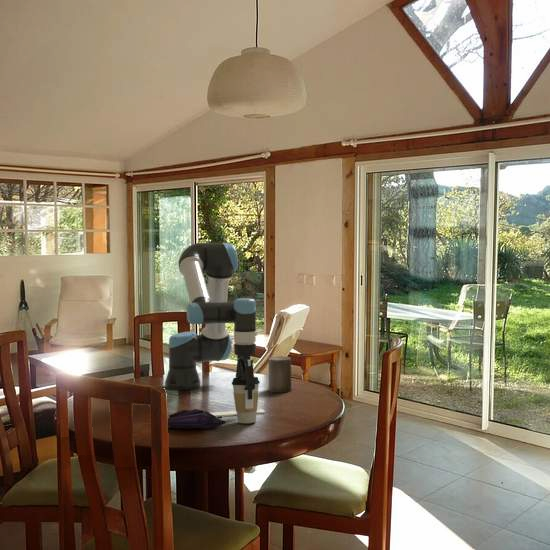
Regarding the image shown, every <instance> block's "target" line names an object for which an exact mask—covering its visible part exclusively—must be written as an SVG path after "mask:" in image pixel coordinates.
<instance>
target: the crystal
mask: <svg viewBox="0 0 550 550" xmlns="http://www.w3.org/2000/svg"><path fill="white" fill-rule="evenodd" d="M211 413H212V412H209V411H207V410H201V409H197V408H194V409H190V410H187V409H182V410H180V411H177V412H174V413H172V414H168V418H167V419H168V426H169V427H168V426H167V427H168V429H192V428H199V429H200V430H202V429H203V430H214V429H216V428H218V427H220V426H222V425H225V424H226V421H225V420H223V417H222V416H220V417H216V416H214V415H212V414H211Z"/></svg>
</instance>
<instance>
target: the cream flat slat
mask: <svg viewBox="0 0 550 550" xmlns="http://www.w3.org/2000/svg"><path fill="white" fill-rule="evenodd" d="M210 413H211V414H212V415H214V416H216V418H217V417H220V416H223V417H234V415H237V412H236V410H231V411H217V412H210ZM263 413H265V414H266V411H265V410H264V409H263V408H260V409H258V408H257V414H256V415H259V414H260V415H264V414H263Z"/></svg>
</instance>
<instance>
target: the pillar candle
mask: <svg viewBox="0 0 550 550" xmlns="http://www.w3.org/2000/svg"><path fill="white" fill-rule="evenodd" d="M268 391H270V392H272V393H288V392H287V391H289V392H291V391H292V358H291V357H290V356H285V355H284V356H282V355H278V356H271V357H268Z"/></svg>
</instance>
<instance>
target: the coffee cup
mask: <svg viewBox="0 0 550 550" xmlns="http://www.w3.org/2000/svg"><path fill="white" fill-rule="evenodd" d="M254 381H255V389H254V390H253V408H252V409H245V390H244V388H245V387H246V385H245V378H244V377H237V378H236V377H233V379H232V381H231V385H232V388H233V389H232V390H233V392H232V393H233V399H234V406H235V411H236V412H237V423H239V424H252V423H255V422H256V423H257V415H258V414H257V409H258V404H259V384H261V382H260V380H259V378H258V377H257V376H254ZM249 386H250V385H249Z"/></svg>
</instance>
